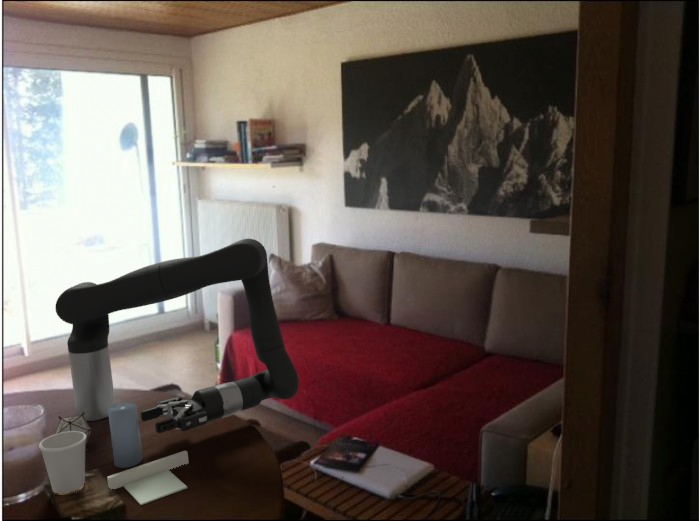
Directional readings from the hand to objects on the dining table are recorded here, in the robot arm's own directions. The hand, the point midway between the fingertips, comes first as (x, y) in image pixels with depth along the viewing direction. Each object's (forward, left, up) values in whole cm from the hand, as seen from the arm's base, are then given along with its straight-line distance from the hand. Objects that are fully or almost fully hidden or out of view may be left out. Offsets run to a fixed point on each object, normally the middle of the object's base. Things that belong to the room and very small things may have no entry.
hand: (148, 422), depth 138 cm
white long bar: (+10, -4, -7) cm, 12 cm away
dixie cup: (+3, -18, -7) cm, 20 cm away
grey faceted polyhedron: (-14, -12, -7) cm, 20 cm away
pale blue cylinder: (0, -5, -7) cm, 9 cm away
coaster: (+15, -5, -7) cm, 17 cm away
